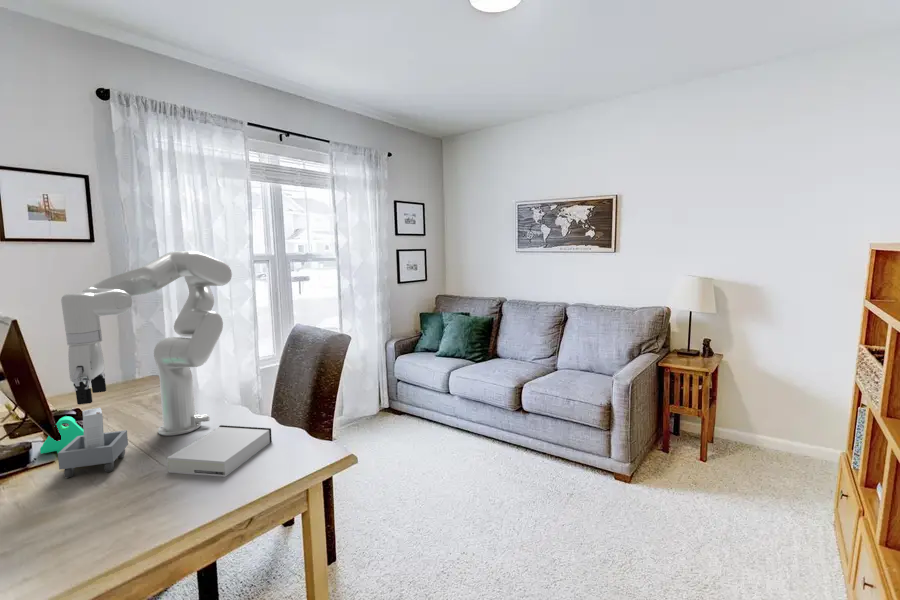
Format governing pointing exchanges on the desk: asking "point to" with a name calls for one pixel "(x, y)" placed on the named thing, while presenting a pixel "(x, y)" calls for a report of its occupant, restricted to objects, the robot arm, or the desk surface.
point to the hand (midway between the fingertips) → (92, 397)
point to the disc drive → (219, 451)
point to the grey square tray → (93, 453)
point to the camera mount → (62, 435)
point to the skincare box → (93, 428)
